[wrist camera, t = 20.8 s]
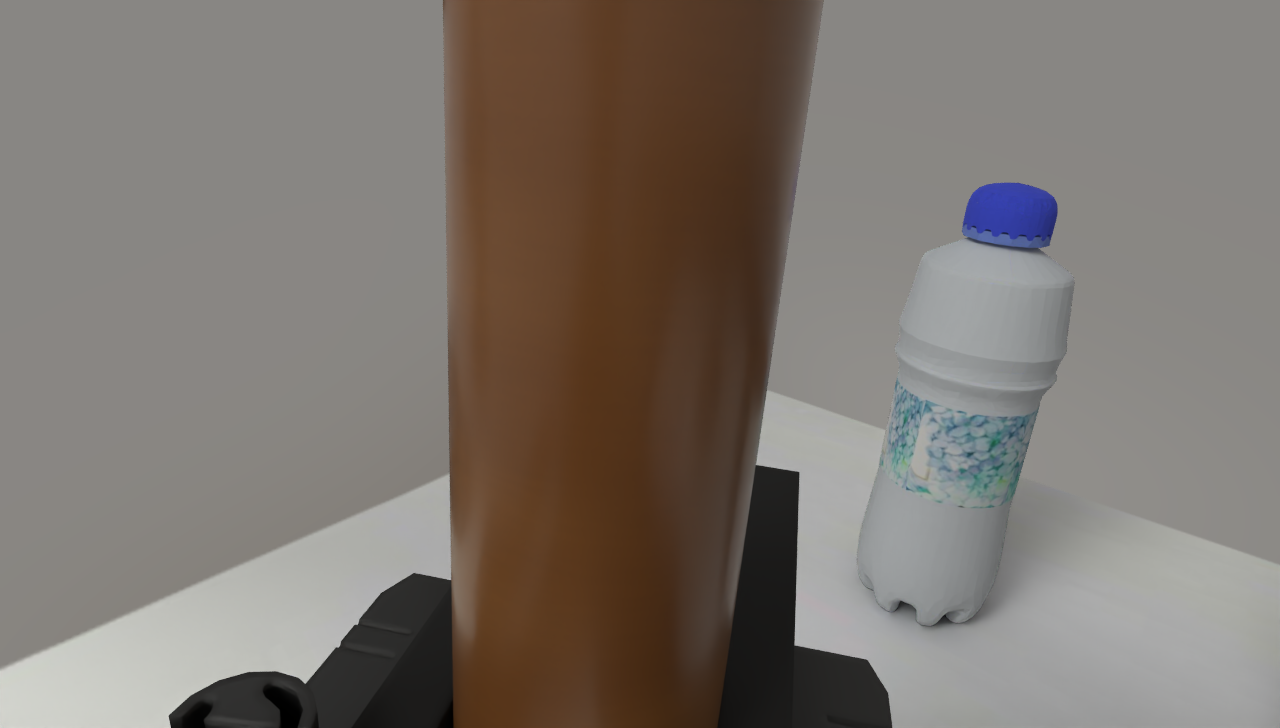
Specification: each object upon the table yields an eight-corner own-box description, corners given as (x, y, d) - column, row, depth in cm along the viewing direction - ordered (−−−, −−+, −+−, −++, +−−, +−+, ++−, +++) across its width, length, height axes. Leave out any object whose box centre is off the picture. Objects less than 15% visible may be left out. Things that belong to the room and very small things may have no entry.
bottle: (902, 541, 43) (988, 169, 35) (1016, 611, 38) (1144, 195, 30) (818, 578, 39) (895, 171, 32) (932, 662, 34) (1055, 200, 27)
